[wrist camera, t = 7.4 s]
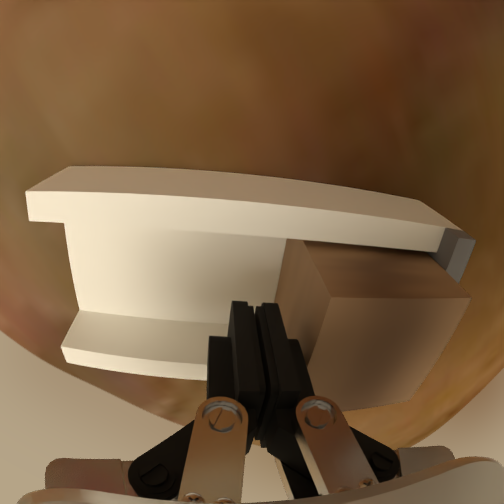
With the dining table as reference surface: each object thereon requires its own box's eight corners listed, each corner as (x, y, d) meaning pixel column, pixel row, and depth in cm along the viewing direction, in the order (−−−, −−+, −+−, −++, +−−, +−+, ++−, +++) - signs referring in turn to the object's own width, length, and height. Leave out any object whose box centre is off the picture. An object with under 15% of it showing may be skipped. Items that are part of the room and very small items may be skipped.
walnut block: (401, 230, 15) (471, 297, 9) (368, 322, 17) (409, 400, 12) (290, 217, 14) (331, 297, 8) (269, 322, 16) (288, 415, 11)
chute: (418, 200, 15) (476, 240, 11) (372, 329, 19) (401, 386, 15) (69, 166, 13) (11, 200, 8) (88, 315, 17) (60, 376, 12)
